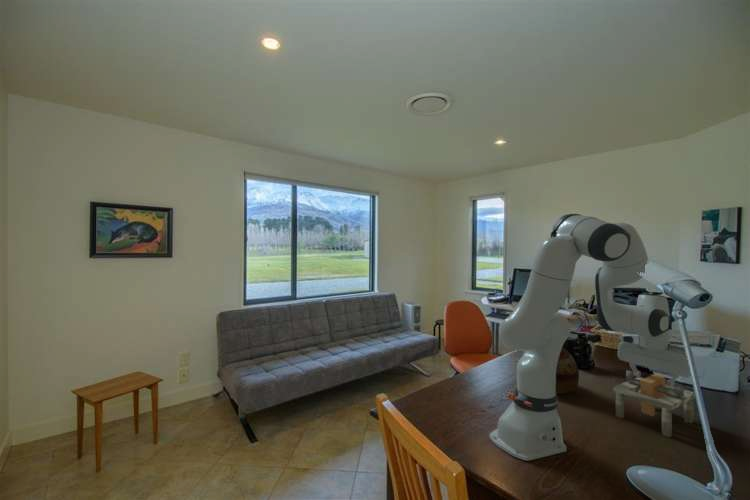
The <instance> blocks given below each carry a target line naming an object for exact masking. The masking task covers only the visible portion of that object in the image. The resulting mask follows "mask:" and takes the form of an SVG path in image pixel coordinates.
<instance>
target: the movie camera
mask: <svg viewBox="0 0 750 500" xmlns="http://www.w3.org/2000/svg"><path fill="white" fill-rule="evenodd" d="M570 334H573V335H577V337H576V338H574V337H572V336H571V337H570V336H569V337H568V338H567V339H566V340H565V342H564V344H563V346H562V347H563V348H565V349H566V350H567V351H568V352H569V353H570V354H571V356H572V357H573V359H574V360H575V362H576V365H577V368H578V369H582V370H589V371H590V370H591V371H592V370H594V369H595V368H596V367H595V366H596V363H595V360H594V358H593V357H592V354H593V349H592V345H591V343H588V342H592V343H593V344H595V343H602V342H603V341H602V335H601V334H599V333H594V332H591V331H590V332H589V331H581V330H580V331H579V330H572V329H571V332H570Z"/></svg>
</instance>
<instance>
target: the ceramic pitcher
mask: <svg viewBox="0 0 750 500" xmlns="http://www.w3.org/2000/svg"><path fill="white" fill-rule="evenodd" d="M579 380H580V373H579V368H577V365H576V362H575V360H574V359H573V357H572V356H571V354H570V353H569V352H568V351H567V350H566V349H565V348H563V347H562V349H561V352H560V355H559V359H558V362H557V367H556V394H567V393H571V392H574V391H575V390H576V389H577V388H578V386H579Z"/></svg>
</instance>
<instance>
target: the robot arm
mask: <svg viewBox="0 0 750 500" xmlns="http://www.w3.org/2000/svg"><path fill="white" fill-rule="evenodd" d="M647 254H648V253H647V251H646V248H645V245H644V243H643V240H642V238H641V236H640V234H639V233H638V231H637V229H636V228H635V227H634V226H632V224H629V223H625V222H616V223H612V222H611V223H610V222H607V221H605V220H603V219H600V218H598V217H594V216H588V215H582V214H580V213H579V214H578V213H569V214H564V215H562V216H561V217H560V218H558V219H557V220H556V222H555V224H554V225H553V228H552V231H551V232H550V237H549V238H546V239H544V240H543V242H541V245H540V247H539V249H538V250H537V252H536V255H535V257H534V260H533V263H532V266H531V270H530V273H529V276H528V277H529V278H528V280H527V285H526V288H525V290H524V292H523V295H522V296H521V298H520V300H519V301H518V303H517V305H515V308H514V309H513V311H512V312H511V313H509V315H508V316H507V317H506V318H505V319H504V320H502V321H501V322H500V325H499V327H498V334H499V338H500V340H501V342H502V344H503V345H504V346H505V347H506V348H507V349H509V350H511V351H515V352H516V351H517V352H519V351H520V352H523V354H522V356H521V357H520V358H519V359H518V361H517V363H516V387H515V390H514V393H512V392H510V391H509V392H508V393H507V394H506V395H507V396H506V397H507V398H508V399H509V400H512V402H511V403H510V404H509V406H508V407H507V408H506V410H505V411H504V412H503V413H502V414H501V415H500V417H499V418H498V421H497V422H498V423H497V428H495V429H494V430H492V431H491V432H490V433H489V439H490V441H491V442H492V443H493V444H494V445H495V446H497V447H498V448H500V449H501V450H502V451H504V452H505V453H507V454H508V455H511V456H512V457H515V458H517V459H519V460H523V461H526V462H527V461H533V460H537V459H540V458H541V459H542V458H545V457H549V456H553V455H556V454H561V453H565V452H567V451H568V450H567V445H566V444H565V443H564V438H563V429H562V420H561V418H560V415H559V413H558V410H557V408H558V406H559V405H558V403H559V399H558V393H556V367H557V362H558V359H559V355H560V352H561V349H562V346H563V344H564V342H565V340H566V339H567V338H568V337H570V335H571V333H570V332H571V330H572V329H571V324H570V321H569V320H568V318H567V317H566V316H565V315H564V314H562V313H560V312H557V311H558V310H559V309H560V308H562V307H563V306H564V304H565V303H566V301H567V297H568V293H569V290H570V287H571V284H572V280H573V278H574V273H575V270H576V269H575V268H576V264H577V262H578V261H579V259H580V258H581V257H582V256H585V257H587V258H588V257H589V258H592V259H594V260H596V261H599V262H600V261H601V262H602V266H601V267H599V268H598V269H597V270H596V272H595V277H594V286H595V287H594V288H595V296H596V297H595V299H596V321H597V323H598V325H599V326H600V327H601V328H602V329H604V331H607V332H617V333H625V334H622V335H620V337H619V340H620V342H619V343H618V346H617V358H618V359H619V360H620V361H623V362H626V363H629V367H630V369H631V370H632V372H633V377H636V378H637V377H642V376H641V374H642V372H641V371H640V370H638V368H637V366H640V367H641V366H642V367H645V368H650V369H652V370H656V371H661V372H664V373H668V374H670V377H671V379H669V378H668V379H667V380H666V385H667V386H671V387H675V385H676V384H675V382H676V381H677V380H678V379H679V378H680V377H682V378H683V377H684V378H689V377H691V376H692V375H691V373H690V369H689V365H688V360H687V356H686V353H685V349H684V346H678V345H675V344H671V334H670V333H671V332H670V322H671V321H670V320H671V318H670V317H671V316H670V307H669V302H668V298H667V297H665V296H663V295H660V294H653V293H652V294H650V293H641V294H638V297H637V300H636V301H637V302H636V305H634V304H624V303H619V302H616V301H614V295H613V289H614V288H617V287H624V286H629V285H631V284H635V283H637V282H639V281H640V280H641V279H643V278H644V277H642V276H640V275H639V274H640V272H641V273H642V272H643V273H645V265H646V264H647V263H649V258H648V255H647ZM647 261H648V262H647ZM637 272H638V273H639V274H638V273H637ZM692 354H693V352H692ZM693 355H694V354H693Z"/></svg>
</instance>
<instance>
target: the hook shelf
mask: <svg viewBox="0 0 750 500" xmlns="http://www.w3.org/2000/svg"><path fill="white" fill-rule="evenodd" d="M625 376H626V377H625V380H626V381H625V382H622V383H619V384H616V385H614V386H613V392H614V393H615V416H616V417H618V418H620V419H624V418H625V396H627V397H630V398H632V399H636V400H638V401H637V403H638V406H640V407H641V401H644V402H647V403H650V404H653V405H656V406H659V407H661V408H660V409H661V435H663V437H667V438H671V437H672V436H673V423H672V422H673V416H672V415H673V414H672V413H673V410H675V409H677V408H679V407H680V406H683V421H684V423H685V422H686V423H688V422H689V424H694V423H693V422H694V418H695V417H694V416H695V415H694V399H695V394H696V393H695V392H693V391H690V390H686V389H685V387H684V385H682V384H675V385H674V387H671V386H667V383H665V386H666V387H662V386H657V387H655V388H654V390H655V391H658V392H661V393H665V394H666V396H664V397H662V398H659V399H656V398H653V397H650V396H647V395H644V394H641V380H642V379H644V377H642V376H640V377H637V376H636V377H635V378H634V375H633V370H632V371H631V370H626V371H625ZM694 393H695V394H694Z"/></svg>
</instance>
